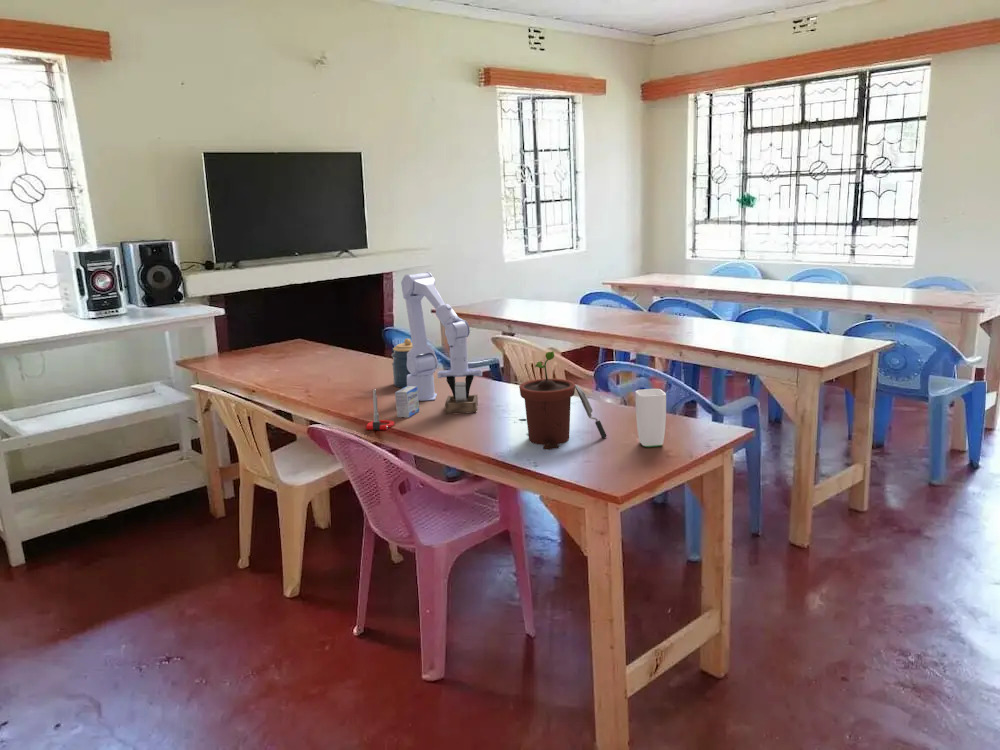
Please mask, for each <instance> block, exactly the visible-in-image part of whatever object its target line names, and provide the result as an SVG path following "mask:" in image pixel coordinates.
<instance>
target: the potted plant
mask: <svg viewBox="0 0 1000 750" xmlns="http://www.w3.org/2000/svg"><path fill="white" fill-rule="evenodd" d="M554 358H555V351H554V350H553V351H547V352H546V353H545V359H546V360H545V362H544V365H543V363H542V362H541V361H538V362H537V363H535V365H534V367H536V368H539V369H544V376H545V378H538V379H531V380H528V381H524V382H522V383H520V384H519V386H518V387H519V394H520V398H522V399H523V400H524V405H525V414H526V425H527V434H528V440H529V442H530V443H532V444H535V445H538V446H539V445H540V446H542V449H543V450H549V451H550V450H554V449H559V448H560V446H559V445H562V444H565V443H567V442H568V441H569V440H570V429H571V428H570V427H571V426H570V425H571V424H570V423H571V403H572V402H571V401H572V400H571V397H573V396H574V395H575V391H576V392H577V394H578V396H579V399H580V402H581V403H582V406H583V408H584V410H585V412H586V415H587V416H588V418H589V419H590V420H595V423H594V424H595V426H596V428H597V430H598V432H599V434H600V436H601V438H602V439H606V438H607V433H606V431H605V429H604V426H603V424H602V422H601V421H600V420H598V418H597V417H593V415H592V414H593V408H592V405H591V404H590V401H589V399H588V397H587V395H586V393H585V392H584V391H583V389H582V388H581V387H580V386H579V385H577V384H575V381H574V382H573V381H572V380H569V379H564V378H548V372H547V363H548V361H550V360H553V359H554Z"/></svg>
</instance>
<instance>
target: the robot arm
mask: <svg viewBox="0 0 1000 750" xmlns="http://www.w3.org/2000/svg"><path fill="white" fill-rule="evenodd" d="M400 283H401V284H400V285H401V292H402V297H403V299H404V300H405V305H406V312H407V319H408V326H409V331H410V332H409V333H410V337H411V338H410V340H411V343H412V346H413V347H412V349H411V350H410V351H409V352H408V353H407V369H408V371H409V372H410V373H411V374H408V375H407V386H415V387H417V389H418V401H435V400H436V398H437V395H438V393H437V392H435V391H436V390H435V380H434V379H435V378H434V377H435V376H434V373H436V369H437V368H438V363H439V361H438V358H437V356H436V352H435V349H434V348H432V347H431V346H430V345H429V344H428V339H427V333H426V327H425V319H424V312H423V308H422V300H423V298H424V297H425V298H426V299H427V300H428V302H429V303H430V304H431V305H432V306H433V308H434V309H435V316H436V317H437V319H438V321H439V322H440V323H441V325H442V327H443V328H444V335H445V337H446V340H447V345H449V358H450V359H449V360H450V369H447V370H446V369H445V370H438V371H437V378H438V379H442V378H446V383H447V384H448V385H449V388H450V390H451V393H452V396H454V399H456V398H455V383H456V378H460V377H461V378H463V377H465V379H464V382H466V398H469V395H470V390H471V386H472V382H473V380H474V378H475V377H483V370H482V368H479V369H474V368H469V361H468V360H469V358H468V342H467V338H468V337H469V336H470V331H471V330H470V329H471V328H470V325H469V323H468V321H467V320H465V319H462V318H461V317H459V316H458V315H457V313H456V311H455V310H454V309H453V307H452V306H451V305H450V304H449V303H445V301H444V300H443V298H442V296H441V294H440V293H439V291H438V288H436V279H435V277H434V276H433V274H432V273H431V272H429V271H426V272H421V273H413V274H405V275H404V276H403V277H402V279H401V282H400ZM420 354H424V355H420ZM417 355H419V356H417Z"/></svg>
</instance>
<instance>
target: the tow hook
mask: <svg viewBox="0 0 1000 750" xmlns="http://www.w3.org/2000/svg"><path fill="white" fill-rule="evenodd" d="M372 391H373V392H372V393H373V394H372V395H373V396H372V401H373V402H372V403H373V415H372V416H373V421H370V422H368V423H367V425H366V426H365V429H366V430H367V431H369V430H370V431H387V430H388V428H392V427H393V426H394V425H396V424H395V421H393V420H390V419H380V415H379V414H380V413H379V411H378V410H379V408H378V396H377V390H376V388H373V389H372ZM388 423H389V424H388Z"/></svg>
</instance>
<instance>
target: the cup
mask: <svg viewBox="0 0 1000 750" xmlns="http://www.w3.org/2000/svg"><path fill="white" fill-rule="evenodd" d="M635 415H636V417H635V418H636V428H637V429H636V430H637V436H638V442H639V443H640V444H641V445H642V447H644V448H645V447H646V448H652V447H654V448H655V447H661V446H662V445H663V444H664V441H665V431H666V423H667V422H666V420H667V418H666V417H667V393H666V392H665V391H664V390H662V389H660V388H646V389H645V388H644V389H637V390H635Z"/></svg>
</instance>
